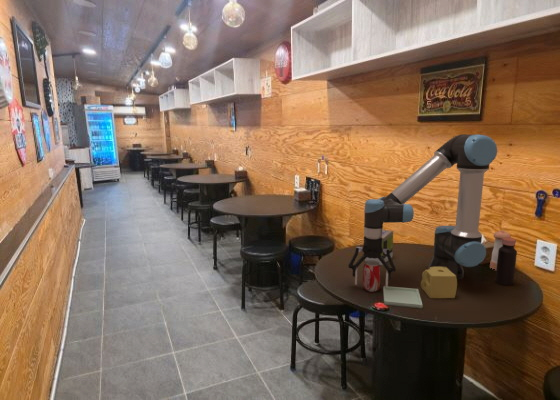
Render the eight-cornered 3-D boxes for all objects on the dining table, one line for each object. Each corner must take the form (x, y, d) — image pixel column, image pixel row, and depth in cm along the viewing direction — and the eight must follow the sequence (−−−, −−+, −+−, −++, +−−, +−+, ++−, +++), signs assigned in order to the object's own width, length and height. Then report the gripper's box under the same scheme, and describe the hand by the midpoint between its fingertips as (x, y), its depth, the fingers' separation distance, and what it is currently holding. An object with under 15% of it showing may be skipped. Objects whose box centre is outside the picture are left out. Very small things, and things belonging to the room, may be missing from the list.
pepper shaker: (497, 264, 176) (501, 227, 172) (511, 270, 169) (515, 231, 166) (486, 266, 174) (490, 229, 170) (499, 272, 167) (503, 233, 163)
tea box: (375, 253, 195) (375, 227, 192) (393, 257, 189) (394, 230, 186) (364, 262, 183) (365, 234, 180) (383, 266, 177) (384, 237, 175)
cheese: (420, 287, 153) (421, 266, 151) (445, 287, 152) (447, 265, 150) (429, 299, 143) (431, 275, 141) (456, 299, 142) (458, 275, 140)
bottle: (494, 278, 161) (499, 236, 157) (512, 280, 158) (517, 237, 154) (495, 284, 155) (500, 240, 151) (514, 286, 152) (519, 242, 148)
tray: (417, 292, 148) (417, 289, 148) (422, 308, 135) (422, 304, 135) (383, 289, 152) (383, 285, 152) (384, 304, 139) (384, 301, 138)
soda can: (380, 293, 148) (381, 266, 146) (362, 292, 149) (363, 265, 147) (379, 286, 155) (380, 260, 152) (362, 285, 156) (363, 259, 154)
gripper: (402, 235, 148) (400, 283, 152) (344, 232, 154) (343, 278, 158) (404, 241, 141) (401, 291, 145) (342, 237, 147) (341, 285, 151)
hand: (371, 284), depth 152 cm, fingers open, 12 cm apart
